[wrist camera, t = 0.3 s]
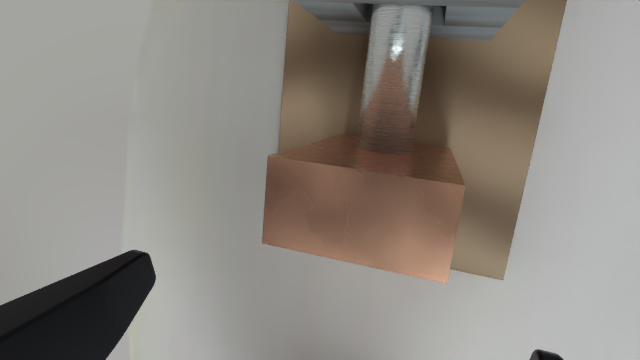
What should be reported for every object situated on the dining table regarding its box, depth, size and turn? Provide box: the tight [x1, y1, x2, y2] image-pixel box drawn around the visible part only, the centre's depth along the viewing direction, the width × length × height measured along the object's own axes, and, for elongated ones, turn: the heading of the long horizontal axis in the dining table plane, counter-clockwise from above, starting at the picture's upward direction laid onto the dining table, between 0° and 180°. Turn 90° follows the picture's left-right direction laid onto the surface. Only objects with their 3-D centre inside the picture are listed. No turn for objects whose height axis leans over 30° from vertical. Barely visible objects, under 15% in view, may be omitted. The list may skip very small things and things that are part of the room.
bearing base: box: [278, 0, 567, 280], centre depth 17 cm, size 21×14×10 cm, turn 174°
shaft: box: [262, 4, 466, 284], centre depth 15 cm, size 17×6×10 cm, turn 174°
